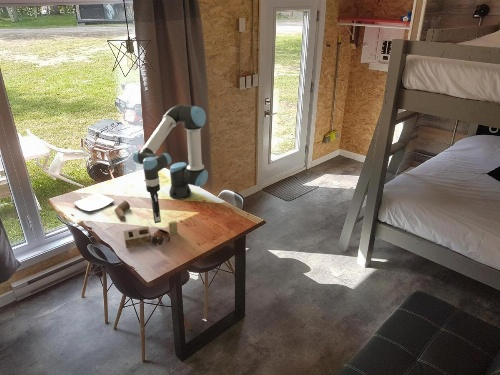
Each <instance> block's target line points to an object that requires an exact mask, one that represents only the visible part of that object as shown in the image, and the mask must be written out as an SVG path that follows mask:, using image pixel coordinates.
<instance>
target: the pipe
mask: <svg viewBox="0 0 500 375" xmlns="http://www.w3.org/2000/svg"><path fill="white" fill-rule="evenodd" d="M130 209H131V204H130V203H129V202H128V201H127V200H123V201H122V202H121V203H120V204H119V205H117V206H116V208H115V209H114V212H115V214H116V215H117V216H118V218H119V220H120V221H124V220H125V219H126V214H125V212H126V211H128V210H130Z"/></svg>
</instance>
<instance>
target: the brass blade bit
mask: <svg viewBox="0 0 500 375" xmlns="http://www.w3.org/2000/svg"><path fill="white" fill-rule="evenodd" d="M168 229H169V230H168V231H169V233H170V234H169V236H172V235H176V234H177V235H178V234H179V232H178V221H177V220H171V221H168Z"/></svg>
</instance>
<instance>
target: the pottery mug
mask: <svg viewBox="0 0 500 375" xmlns="http://www.w3.org/2000/svg"><path fill="white" fill-rule="evenodd" d="M165 238H168V242H169V241H170V239H171V238H170V232H168V231H167V230H164V229H160V228H157V230H156V231H155V232H154V234H153V236H152V243H151V244H153V245H154V246H156V247H158V246H162V245H163V242H164V240H165Z"/></svg>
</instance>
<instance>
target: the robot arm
mask: <svg viewBox="0 0 500 375" xmlns="http://www.w3.org/2000/svg"><path fill="white" fill-rule="evenodd" d="M206 120H207V115H206V112H205V110H204V109H203V108H202V107H199V106H196V105H188V104H176V105H174V106H173V107H171V108H169V109H168V110H167V111H166V112H165V113H164V114H163V115H162V120H161V122H160V123H159V125H158V126H157V127H156V129H155V130H154V131H153V133H152V135H151V136H150V137H149V139H148V140H147V141H146V142H145V145H143V147H142V149H141V150H136V151H134V152H133V155H132V160H133V161H134V163H135V164H139V165H142V168H143V172H144V174H143V175H144V182H145V187H146V188H145V189H146V192H148V193H149V194H150V198H151V200H152V201H153V204H154V210H155V211H153V210H152V213H153V212H154V213H155V221H160V217H161V211H159V209H160V202H159V193H158V192H159V191H160V190H161V186H160V185H161V184H160V176H159V172H160V171H162V170H163V169H164V168H166V167H168V166H169V165H170V164H171V165H170V167H169V175H170V183H171V185H170V189H169V197H170V198H171V199H175V200H185V199H187V198H189V197H191V195H192V190H191V186H195V187H199V188H200V187H203V186H204V185H205V184H206V183H207V180H208V178H209V171H207V170H206V169H205V165H204V164H203V163H202V162H203V161H202V159H203V158H202V141H201V140H202V138H201V130H202V129H203V126H205V124H206ZM178 124H183V128H184V130H186V139H187V153H188V155H187V156H188V157H187V158H188V163H186V162H185V161H184V162H183V161H182V162H175V163H173V164H172V157H171V156H170V153H167V152H163V153H161V154H157V153H156V152H157V151H158V150H159V149H160V147H161V145H162V144H163V142H164V141H165V139H166V137H168V136H169V133H170V132H171V131H172V129H173V128H175V127H176V126H177V125H178ZM159 212H160V214H159Z"/></svg>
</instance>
